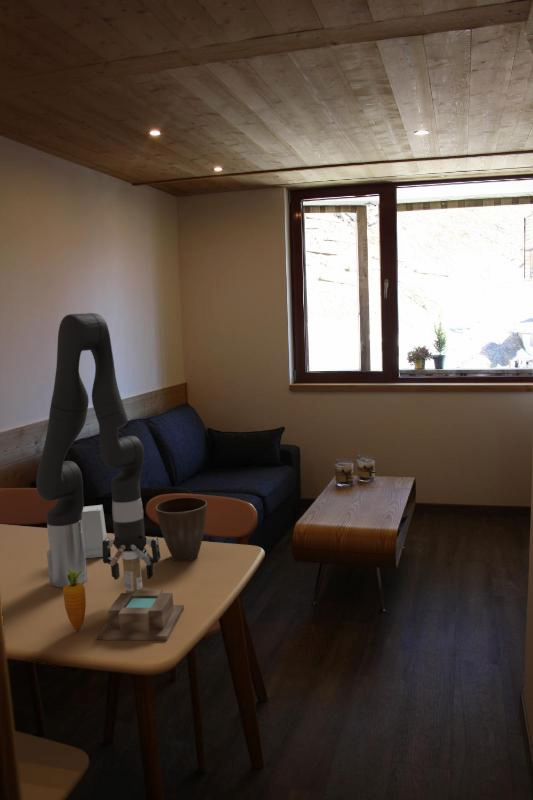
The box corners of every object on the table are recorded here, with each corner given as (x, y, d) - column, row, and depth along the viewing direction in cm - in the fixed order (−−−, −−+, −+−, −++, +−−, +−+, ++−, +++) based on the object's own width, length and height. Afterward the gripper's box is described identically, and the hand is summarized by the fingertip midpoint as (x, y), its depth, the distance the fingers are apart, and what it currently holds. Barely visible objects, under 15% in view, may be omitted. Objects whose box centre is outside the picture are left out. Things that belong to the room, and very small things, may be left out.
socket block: (97, 639, 157) (95, 616, 156) (120, 608, 173) (118, 587, 172) (167, 640, 155) (165, 617, 154) (183, 608, 171) (182, 587, 170)
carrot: (68, 627, 164) (63, 566, 162) (90, 625, 164) (84, 564, 162) (64, 637, 159) (58, 574, 157) (86, 635, 159) (81, 572, 157)
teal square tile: (125, 613, 161) (124, 609, 161) (132, 602, 167) (132, 598, 166) (150, 613, 160) (150, 609, 160) (157, 602, 166) (157, 598, 166)
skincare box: (108, 550, 215) (104, 504, 213) (105, 557, 209) (101, 509, 207) (80, 552, 214) (76, 505, 212) (76, 559, 208) (72, 511, 206)
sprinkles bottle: (146, 600, 177) (142, 549, 175) (129, 605, 174) (125, 554, 172) (139, 594, 180) (135, 544, 179) (122, 599, 178) (118, 549, 176)
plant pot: (190, 569, 196) (187, 514, 194) (149, 562, 203) (144, 509, 201) (219, 551, 209) (216, 500, 207) (179, 545, 216) (176, 495, 214)
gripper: (95, 521, 171) (101, 584, 174) (151, 520, 170) (156, 584, 172) (105, 512, 179) (111, 573, 181) (159, 511, 177) (164, 572, 179)
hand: (133, 578), depth 176 cm, fingers open, 8 cm apart
